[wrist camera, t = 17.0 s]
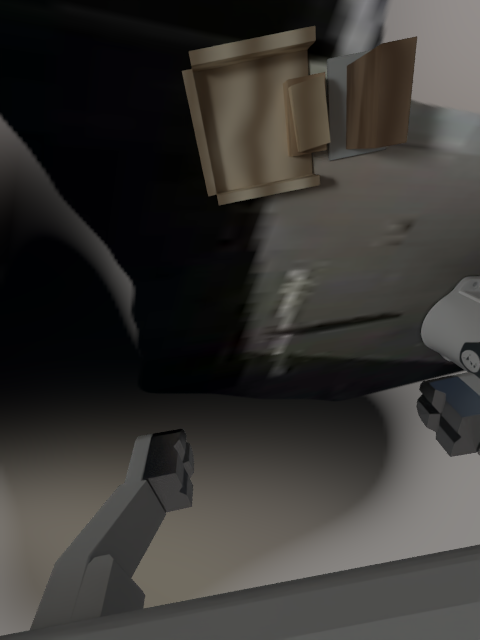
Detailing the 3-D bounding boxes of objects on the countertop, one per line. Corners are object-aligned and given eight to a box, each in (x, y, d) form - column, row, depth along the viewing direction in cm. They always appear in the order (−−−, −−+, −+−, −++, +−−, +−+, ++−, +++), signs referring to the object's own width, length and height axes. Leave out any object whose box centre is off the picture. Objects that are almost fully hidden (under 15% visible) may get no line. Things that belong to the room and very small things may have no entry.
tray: (305, 36, 35) (315, 25, 32) (312, 182, 43) (319, 185, 40) (180, 62, 35) (177, 53, 32) (210, 203, 43) (210, 206, 40)
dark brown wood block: (374, 60, 36) (417, 36, 29) (370, 144, 41) (406, 142, 33) (346, 65, 36) (381, 43, 29) (345, 149, 41) (376, 148, 33)
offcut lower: (318, 76, 36) (325, 72, 34) (320, 149, 40) (326, 149, 38) (282, 84, 36) (287, 79, 34) (288, 156, 41) (292, 156, 38)
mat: (391, 47, 36) (393, 45, 35) (384, 149, 41) (386, 149, 41) (327, 59, 36) (328, 58, 36) (328, 160, 41) (329, 160, 41)
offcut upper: (319, 77, 35) (323, 74, 33) (326, 142, 38) (330, 142, 37) (288, 88, 35) (291, 85, 33) (298, 151, 38) (301, 151, 37)
